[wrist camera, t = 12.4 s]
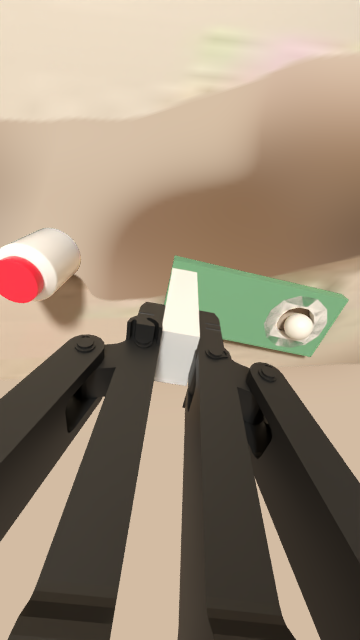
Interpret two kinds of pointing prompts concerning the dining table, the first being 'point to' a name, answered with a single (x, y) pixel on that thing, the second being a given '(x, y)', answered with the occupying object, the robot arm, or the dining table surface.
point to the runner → (261, 306)
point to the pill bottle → (37, 265)
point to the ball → (298, 326)
